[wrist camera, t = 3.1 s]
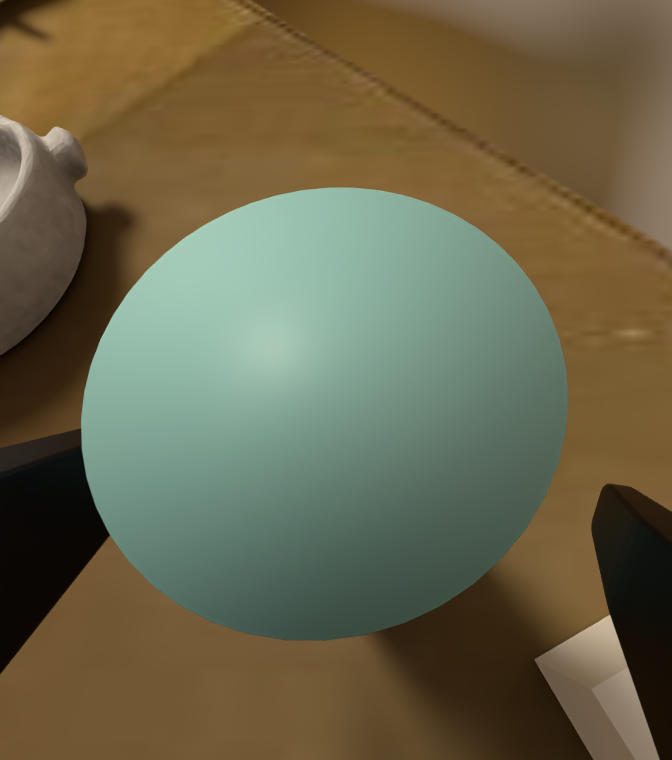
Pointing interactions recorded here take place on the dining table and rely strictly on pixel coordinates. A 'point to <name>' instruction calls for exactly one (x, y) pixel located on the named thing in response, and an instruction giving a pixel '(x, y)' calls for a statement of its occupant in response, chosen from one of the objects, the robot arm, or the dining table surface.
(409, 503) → the teal dowel
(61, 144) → the dish
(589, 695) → the well block
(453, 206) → the dining table surface
